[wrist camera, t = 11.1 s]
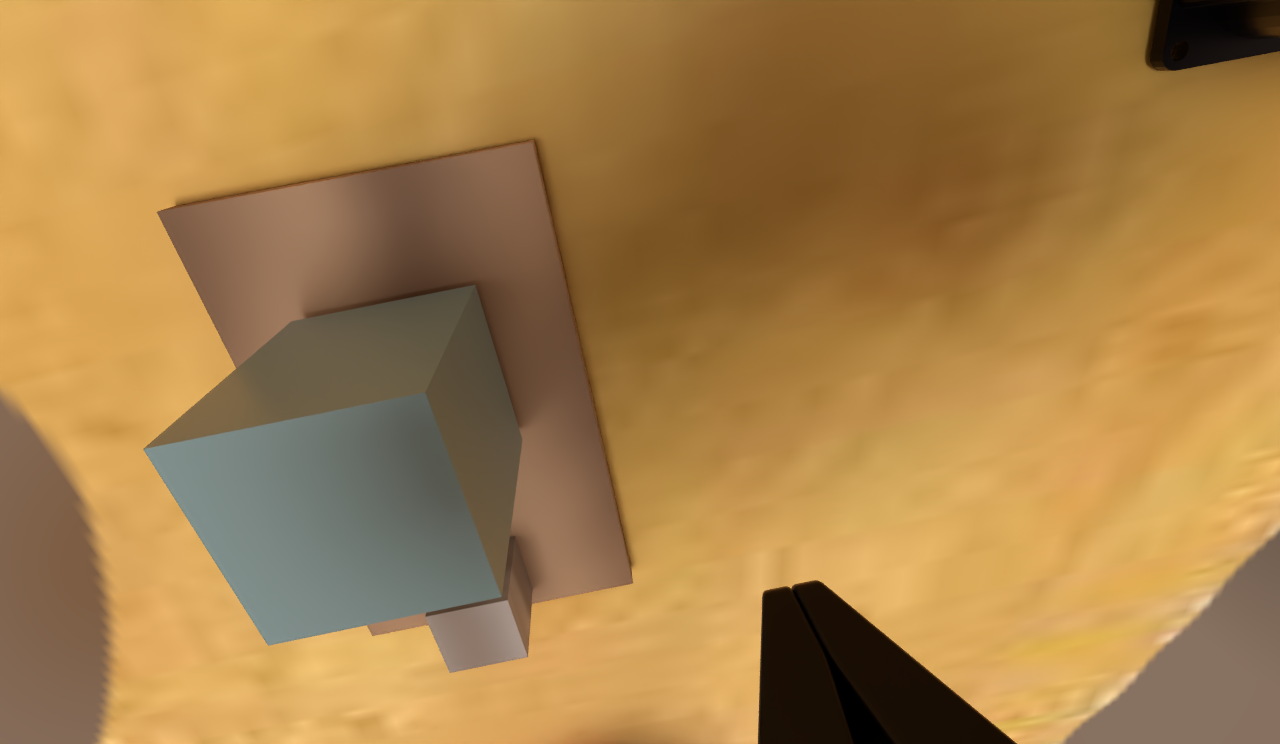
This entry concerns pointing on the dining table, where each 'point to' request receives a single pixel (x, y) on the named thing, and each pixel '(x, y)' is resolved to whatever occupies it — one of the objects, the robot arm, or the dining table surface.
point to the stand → (423, 264)
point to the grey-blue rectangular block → (354, 467)
